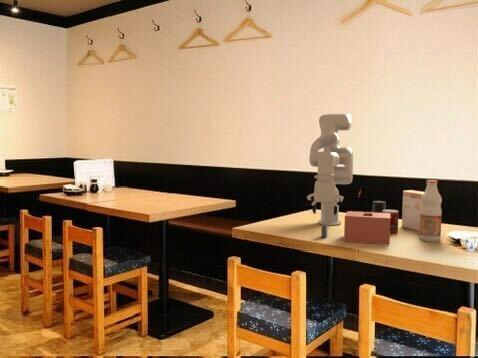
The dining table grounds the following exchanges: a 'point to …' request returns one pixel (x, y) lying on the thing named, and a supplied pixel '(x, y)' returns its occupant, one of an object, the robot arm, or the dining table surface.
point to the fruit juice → (430, 213)
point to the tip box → (367, 227)
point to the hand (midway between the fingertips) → (324, 214)
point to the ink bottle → (378, 206)
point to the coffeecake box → (411, 209)
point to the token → (324, 231)
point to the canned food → (393, 220)
